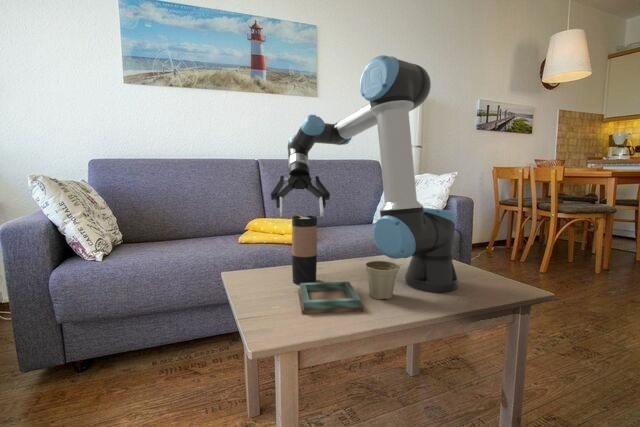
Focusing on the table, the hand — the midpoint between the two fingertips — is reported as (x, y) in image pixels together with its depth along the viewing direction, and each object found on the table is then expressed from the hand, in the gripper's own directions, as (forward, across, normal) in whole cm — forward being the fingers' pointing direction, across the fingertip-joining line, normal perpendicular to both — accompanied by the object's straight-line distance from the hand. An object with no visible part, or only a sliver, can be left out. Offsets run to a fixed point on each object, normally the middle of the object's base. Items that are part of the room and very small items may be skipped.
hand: (301, 214), depth 112 cm
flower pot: (+31, -20, +3) cm, 37 cm away
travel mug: (+21, 0, -6) cm, 22 cm away
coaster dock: (+32, -5, +5) cm, 33 cm away
